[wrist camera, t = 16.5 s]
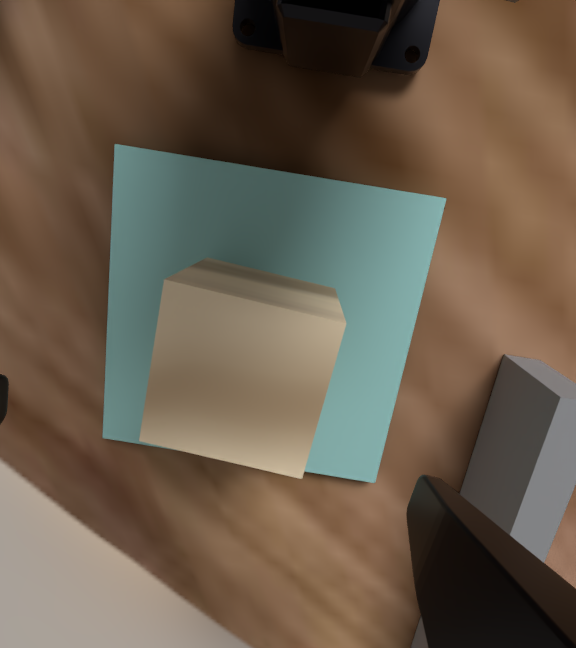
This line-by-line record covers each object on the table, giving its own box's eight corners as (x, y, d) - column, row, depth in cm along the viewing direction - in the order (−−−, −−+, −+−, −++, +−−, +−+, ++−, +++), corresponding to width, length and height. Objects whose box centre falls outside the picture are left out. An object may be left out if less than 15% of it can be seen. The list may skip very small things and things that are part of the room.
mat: (121, 146, 16) (114, 143, 15) (441, 198, 16) (446, 198, 15) (108, 430, 19) (102, 438, 18) (373, 474, 19) (374, 482, 18)
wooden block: (207, 257, 16) (164, 279, 11) (335, 288, 16) (346, 323, 11) (185, 375, 17) (138, 441, 13) (303, 403, 17) (301, 478, 13)
